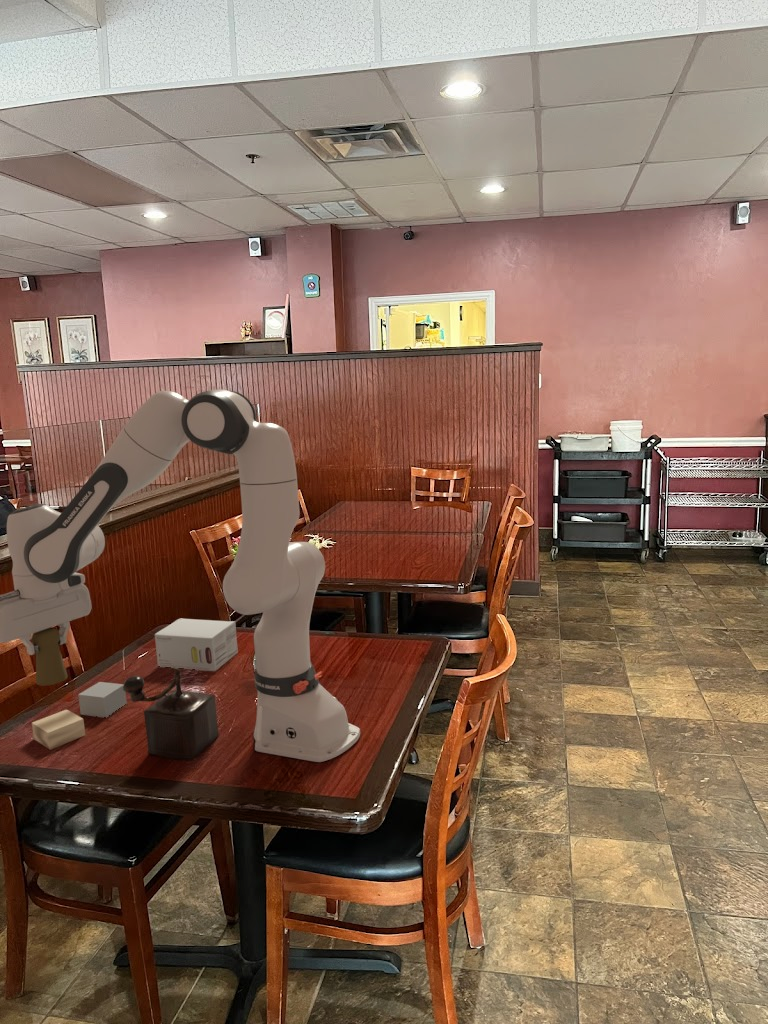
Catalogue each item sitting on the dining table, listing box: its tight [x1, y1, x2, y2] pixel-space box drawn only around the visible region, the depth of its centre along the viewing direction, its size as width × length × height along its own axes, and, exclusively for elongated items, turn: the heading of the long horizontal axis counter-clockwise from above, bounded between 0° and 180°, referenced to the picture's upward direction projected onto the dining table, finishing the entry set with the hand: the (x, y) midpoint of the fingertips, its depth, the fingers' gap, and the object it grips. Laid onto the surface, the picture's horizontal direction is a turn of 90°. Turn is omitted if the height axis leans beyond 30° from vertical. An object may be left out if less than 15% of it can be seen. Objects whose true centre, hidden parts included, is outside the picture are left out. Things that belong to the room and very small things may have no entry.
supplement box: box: [154, 617, 239, 672], centre depth 190 cm, size 17×13×9 cm
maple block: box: [31, 709, 86, 750], centre depth 151 cm, size 8×8×4 cm
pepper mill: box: [123, 668, 220, 761], centre depth 142 cm, size 16×11×18 cm
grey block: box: [77, 681, 128, 719], centre depth 164 cm, size 7×7×5 cm
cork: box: [31, 627, 69, 687], centre depth 148 cm, size 6×6×11 cm
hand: (47, 648), depth 148 cm, fingers closed on cork, 5 cm apart
